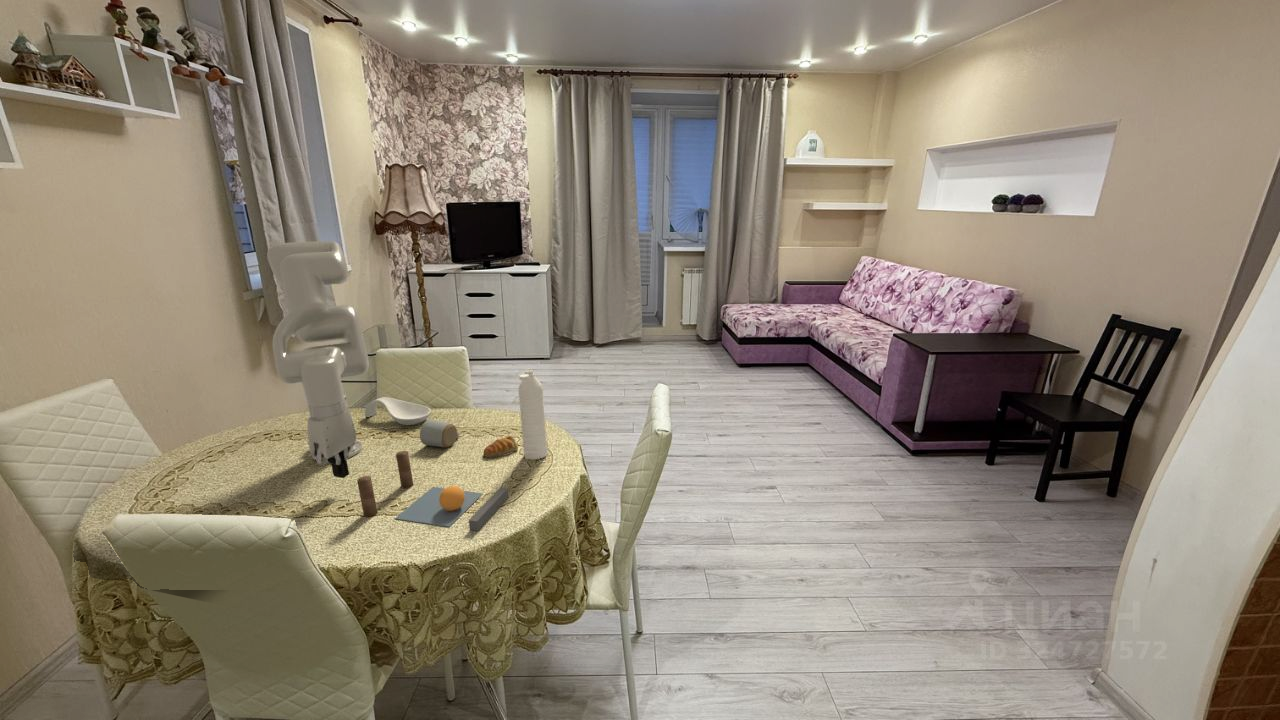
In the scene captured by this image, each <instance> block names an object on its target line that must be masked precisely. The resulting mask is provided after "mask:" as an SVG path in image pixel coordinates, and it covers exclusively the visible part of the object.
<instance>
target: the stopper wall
mask: <svg viewBox="0 0 1280 720" xmlns="http://www.w3.org/2000/svg"><path fill="white" fill-rule="evenodd" d="M509 498H510V496H509V488H508V487H499V488H498V489H497V490H496V491H495V492H494V493H493V495H491V496H490V497H489V498H488V499H487V500H486V501H485V503H483V505H482V506H480V508H479V509H478V510H477V511H476V512H475V513H474V514H473V515H472V516H471V517H470V518H469V519H468V526H469V527H468V528H469V531H473V532H479V531H480V530H481V529H482V528H483V527H484V526H485V524H486V523H487V522H488V521H489V520H490V519H491V517H493V516H494V514H495V513H496V512H497V511H498V510H499V509H500V508H501V507H502V506H503V504H504V503H505V502H507V500H509Z"/></svg>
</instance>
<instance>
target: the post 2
mask: <svg viewBox="0 0 1280 720" xmlns="http://www.w3.org/2000/svg"><path fill="white" fill-rule="evenodd" d="M395 457H396V463H397V464H396V465H397V470H398V475H399V481H400V486H401V487H400V488H401V489H409V488H412V487H413V486H414V481H413V480H414V479H413V473H412V468H411V461H410V455H409V451H407V450H400V451H397V452H396V453H395Z"/></svg>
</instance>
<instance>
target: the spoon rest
mask: <svg viewBox="0 0 1280 720" xmlns="http://www.w3.org/2000/svg"><path fill="white" fill-rule="evenodd" d="M379 403H380V404H382V405H383V406H384V408H385V409H386V412H387V413H388V414H389V416H391V418H392V419H393V420H394V421H395V422H396V423H397V424H399V425H402V426H414V425H418V424H421V423H423V422H425V421H427V420H428V418H429V416H430V415H431V414H432V409H431V408H430V407H428V406H426V405H424V404H423V405H422V404H418V403H414V402H410V401H405V400H401V399H397V398H392V397H389V396H388V397H387V396H382V397H379V398H377V399H373V400H372V401H370V402H369V403H368V404H367V406H366V407H365V409H364V410H365V411H364V418H365V417H369V416H372V417H374V416H376V415H377V414H378V411H377V409H378V408H377V405H378V404H379ZM375 414H376V415H375ZM369 418H370V417H369Z"/></svg>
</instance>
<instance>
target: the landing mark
mask: <svg viewBox="0 0 1280 720" xmlns="http://www.w3.org/2000/svg"><path fill="white" fill-rule="evenodd" d="M445 488H446V487H445ZM445 488H443V487H436V486H432V487H431V488H429V489H428V490H427V491H426V492H424V493H423V494H422V495H421V496H420V497H418V499H416V500H415V501H414V502H413V503H411V504H410V505H409V506H408V507H407V508H406V509H405V510H403V511H402V512H401V513H399V514H398V515H397V516H396V517H395V518H394V519H395V520H398V521H399V520H400V521H407V522H412V523H413V522H414V523H419V524H424V525H425V524H426V525H433V526H439V527H446V528H450V527H451V526H452V525H454V523H456V522H457V520H458V519H460V517H462V516H463V514H465V512H466V511H468V509H469V508H471V506H472V505H474V504H475V503H476V502H477V501H478V499H479V498H481V496H482V495H483V494H484V493H483V492H475V491H468V490H463V492H464V495H465V500H464V503H463V505H462V506H461V507H460V508H459V509H457V510H454V511H448V510H445V509H444V508H442V506H441V505H440V502H439V497H440V494H441V492H442V491H443V490H444V489H445Z"/></svg>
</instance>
